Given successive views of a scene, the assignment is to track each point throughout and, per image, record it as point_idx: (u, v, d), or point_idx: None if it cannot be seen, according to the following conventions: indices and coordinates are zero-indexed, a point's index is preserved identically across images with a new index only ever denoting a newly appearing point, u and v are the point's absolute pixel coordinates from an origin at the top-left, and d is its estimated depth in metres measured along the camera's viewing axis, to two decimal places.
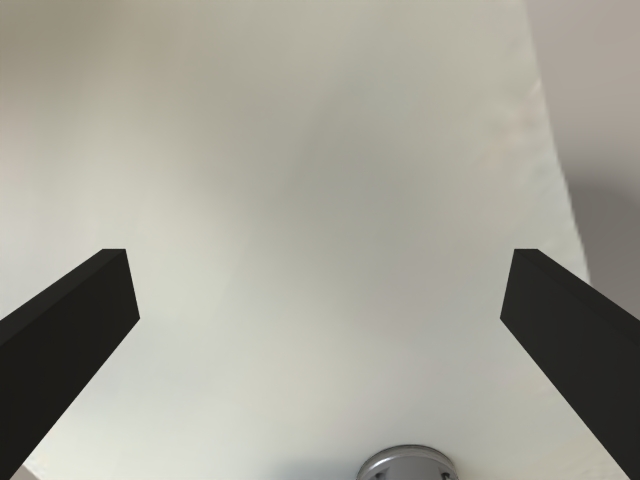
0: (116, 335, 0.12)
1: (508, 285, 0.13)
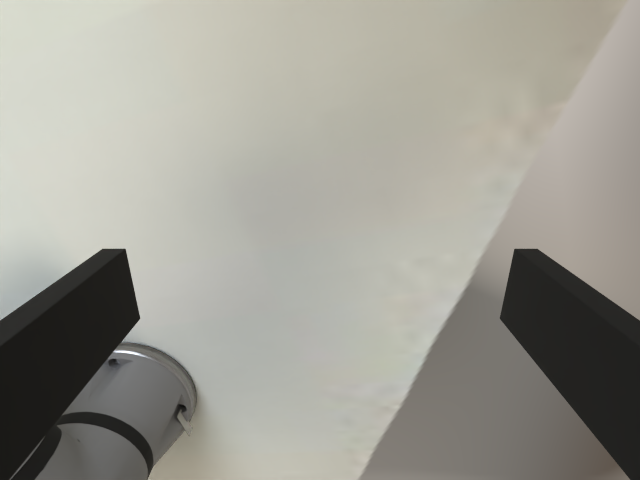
0: (116, 335, 0.12)
1: (507, 285, 0.13)
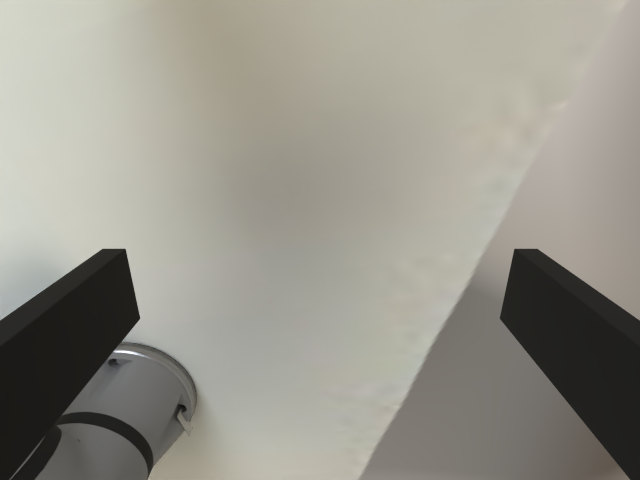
0: (116, 335, 0.12)
1: (507, 285, 0.13)
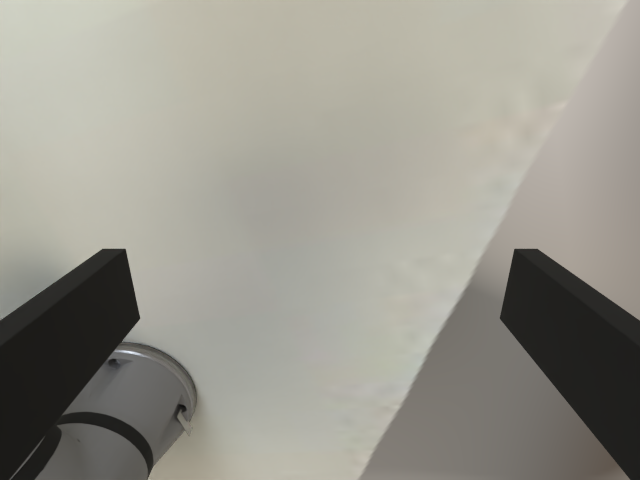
0: (116, 335, 0.12)
1: (507, 285, 0.13)
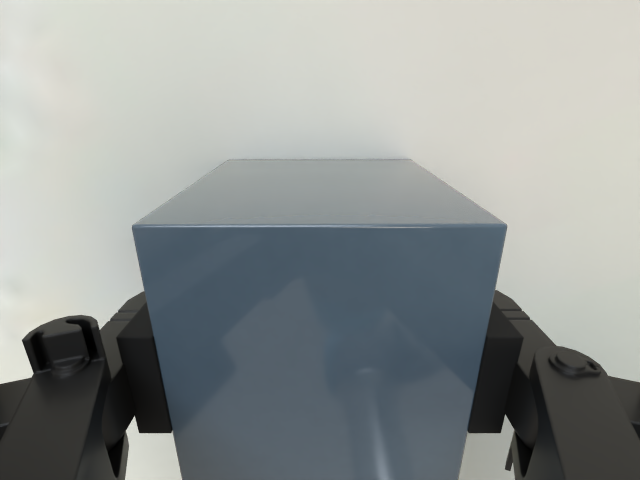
0: None
1: None
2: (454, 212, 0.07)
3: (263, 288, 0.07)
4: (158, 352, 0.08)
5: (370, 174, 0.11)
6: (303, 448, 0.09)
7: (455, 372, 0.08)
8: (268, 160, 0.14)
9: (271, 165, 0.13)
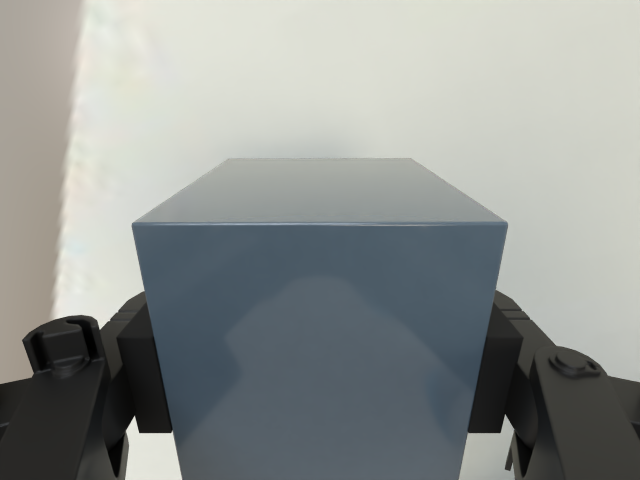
0: None
1: None
2: (455, 210, 0.07)
3: (262, 286, 0.07)
4: (157, 351, 0.08)
5: (370, 173, 0.11)
6: (303, 447, 0.09)
7: (456, 371, 0.08)
8: (268, 159, 0.14)
9: (271, 164, 0.13)
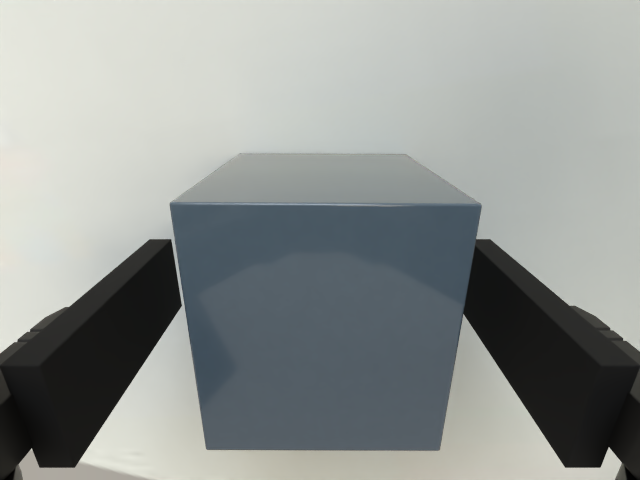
0: (164, 319, 0.12)
1: None
2: (439, 195, 0.09)
3: (277, 258, 0.09)
4: (187, 313, 0.09)
5: (368, 166, 0.13)
6: (309, 401, 0.10)
7: (439, 332, 0.09)
8: (276, 154, 0.15)
9: (279, 158, 0.14)
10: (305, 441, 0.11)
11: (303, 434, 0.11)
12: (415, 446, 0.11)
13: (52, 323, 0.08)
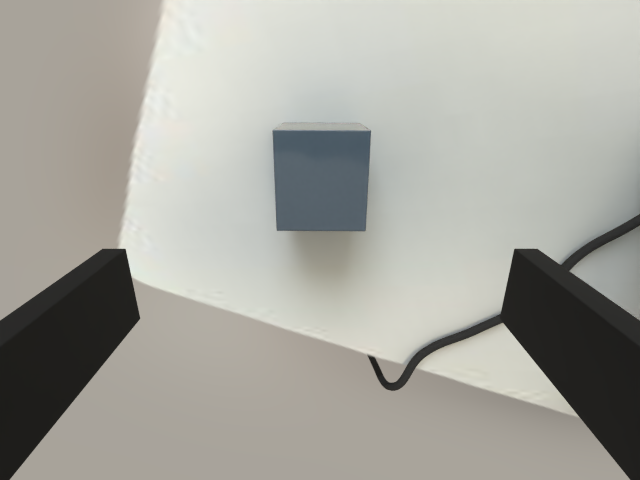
0: (116, 335, 0.12)
1: (507, 285, 0.13)
2: (359, 129, 0.27)
3: (306, 149, 0.27)
4: (275, 170, 0.27)
5: (340, 125, 0.31)
6: (316, 207, 0.28)
7: (361, 178, 0.27)
8: None
9: (302, 123, 0.32)
10: (314, 226, 0.29)
11: (313, 222, 0.29)
12: (356, 228, 0.29)
13: None
